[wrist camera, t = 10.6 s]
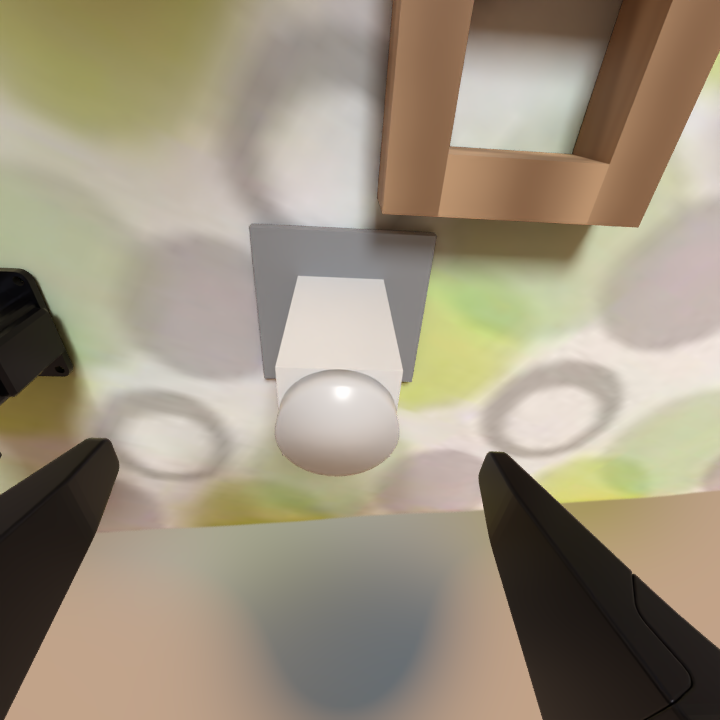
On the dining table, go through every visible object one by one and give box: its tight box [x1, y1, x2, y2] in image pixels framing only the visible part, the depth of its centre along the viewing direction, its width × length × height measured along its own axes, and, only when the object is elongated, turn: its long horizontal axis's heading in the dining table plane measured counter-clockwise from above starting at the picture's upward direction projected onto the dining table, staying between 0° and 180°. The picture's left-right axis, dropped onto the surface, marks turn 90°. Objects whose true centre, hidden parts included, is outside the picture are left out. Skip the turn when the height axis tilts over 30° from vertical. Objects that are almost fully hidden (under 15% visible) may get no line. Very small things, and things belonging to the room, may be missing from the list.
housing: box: [377, 0, 720, 227], centre depth 14 cm, size 11×11×3 cm
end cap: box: [275, 276, 403, 476], centre depth 17 cm, size 4×4×9 cm
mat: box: [249, 224, 437, 382], centre depth 21 cm, size 9×9×1 cm
